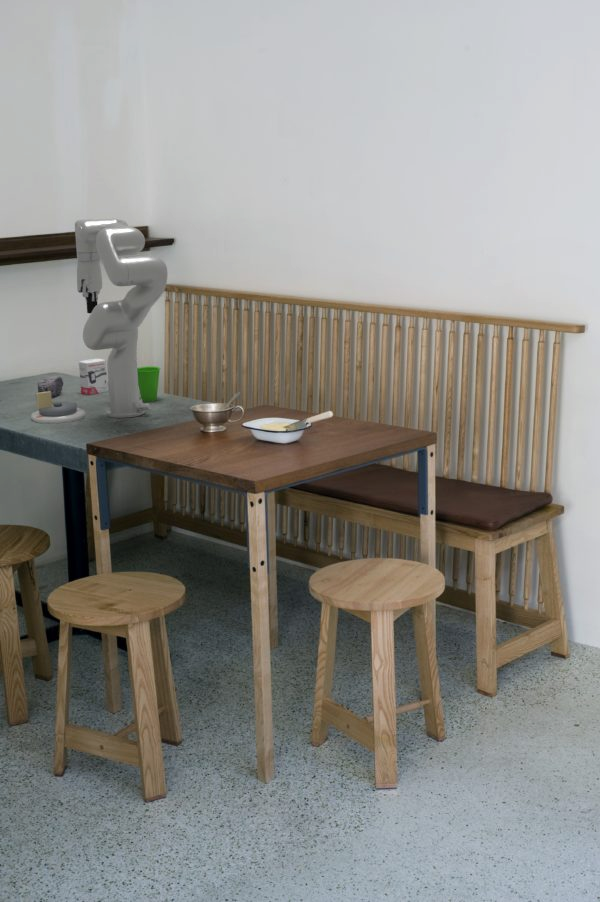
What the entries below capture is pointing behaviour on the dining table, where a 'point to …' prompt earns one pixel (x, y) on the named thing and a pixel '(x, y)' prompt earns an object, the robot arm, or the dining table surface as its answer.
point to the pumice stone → (51, 385)
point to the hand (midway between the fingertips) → (92, 312)
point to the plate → (58, 417)
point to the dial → (53, 405)
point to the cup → (148, 382)
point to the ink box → (93, 376)
